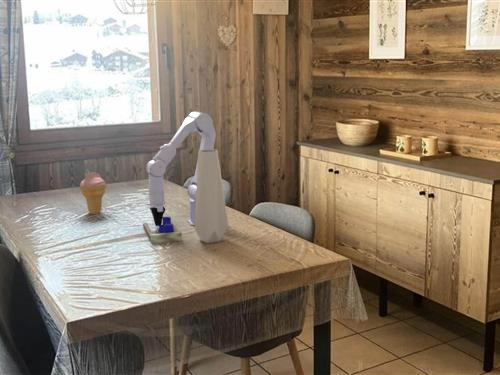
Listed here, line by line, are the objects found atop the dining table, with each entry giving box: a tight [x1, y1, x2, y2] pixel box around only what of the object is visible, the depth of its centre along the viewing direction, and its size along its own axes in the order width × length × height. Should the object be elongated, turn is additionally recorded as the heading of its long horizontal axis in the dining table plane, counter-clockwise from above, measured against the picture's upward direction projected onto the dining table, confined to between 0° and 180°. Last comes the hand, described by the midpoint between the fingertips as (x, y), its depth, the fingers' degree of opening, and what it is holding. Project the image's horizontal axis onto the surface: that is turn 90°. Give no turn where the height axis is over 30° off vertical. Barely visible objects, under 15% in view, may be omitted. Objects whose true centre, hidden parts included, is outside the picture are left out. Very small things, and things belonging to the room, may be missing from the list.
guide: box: [142, 220, 183, 244], centre depth 229 cm, size 11×22×3 cm, turn 17°
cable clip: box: [158, 216, 174, 234], centre depth 226 cm, size 12×4×6 cm, turn 12°
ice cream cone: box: [79, 165, 107, 215], centre depth 259 cm, size 11×11×20 cm
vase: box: [194, 148, 229, 244], centre depth 218 cm, size 12×12×33 cm
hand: (158, 225), depth 237 cm, fingers closed
